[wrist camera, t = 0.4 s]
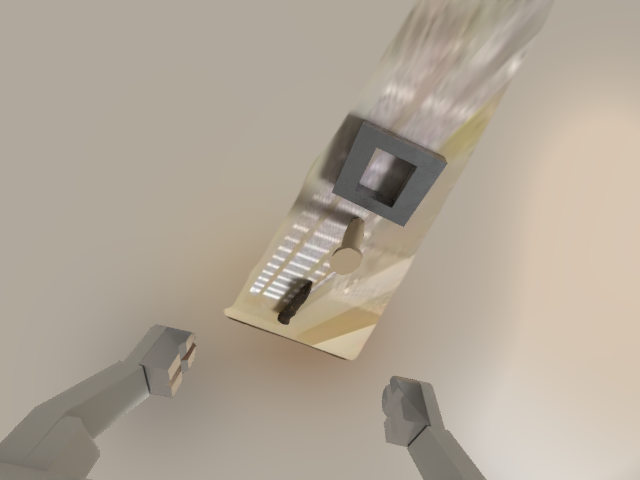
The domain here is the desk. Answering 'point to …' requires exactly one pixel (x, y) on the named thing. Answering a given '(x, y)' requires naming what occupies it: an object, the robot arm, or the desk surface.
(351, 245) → the handle
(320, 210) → the desk surface
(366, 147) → the jig
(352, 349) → the desk surface
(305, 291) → the hand tool
